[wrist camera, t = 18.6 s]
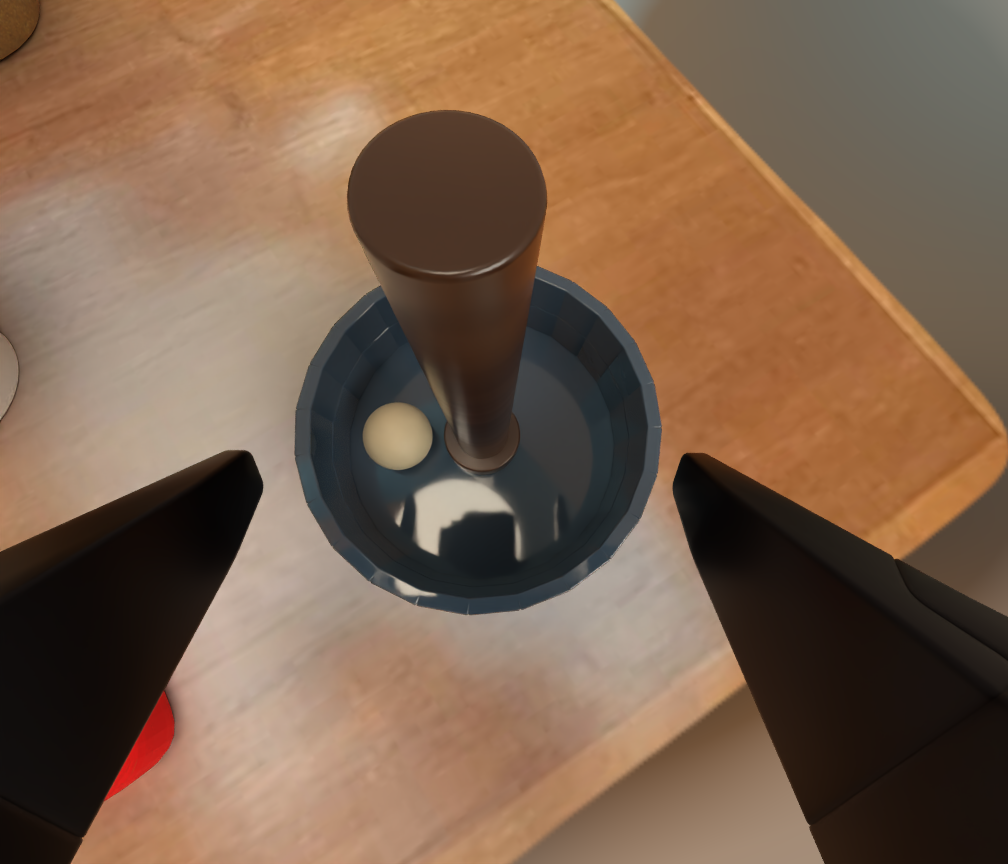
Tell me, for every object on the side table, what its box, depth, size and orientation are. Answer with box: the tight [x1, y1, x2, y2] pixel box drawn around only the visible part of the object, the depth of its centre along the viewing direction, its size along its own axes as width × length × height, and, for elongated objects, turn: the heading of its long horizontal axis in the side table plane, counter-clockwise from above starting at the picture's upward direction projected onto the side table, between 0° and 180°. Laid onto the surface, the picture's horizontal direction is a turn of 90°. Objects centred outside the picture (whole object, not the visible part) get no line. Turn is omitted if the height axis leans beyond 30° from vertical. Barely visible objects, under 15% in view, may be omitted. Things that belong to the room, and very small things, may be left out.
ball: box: [363, 402, 433, 470], centre depth 15 cm, size 3×3×3 cm
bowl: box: [295, 266, 662, 615], centre depth 15 cm, size 12×12×4 cm
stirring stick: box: [347, 110, 547, 475], centre depth 10 cm, size 3×3×13 cm
